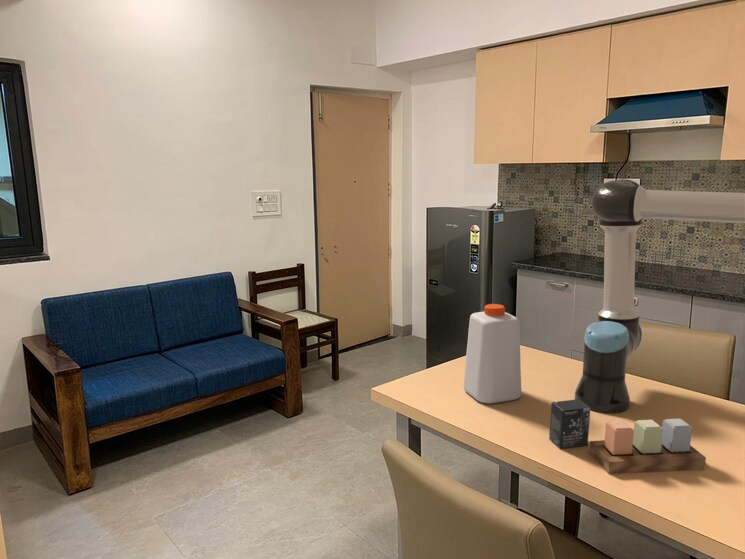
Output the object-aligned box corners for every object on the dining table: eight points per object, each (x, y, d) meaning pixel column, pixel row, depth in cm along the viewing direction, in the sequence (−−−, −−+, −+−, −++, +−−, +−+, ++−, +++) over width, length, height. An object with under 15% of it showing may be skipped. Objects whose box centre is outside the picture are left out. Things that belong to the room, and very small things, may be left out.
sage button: (642, 453, 135) (644, 428, 133) (632, 444, 139) (634, 419, 138) (660, 452, 135) (663, 427, 133) (650, 443, 139) (652, 418, 138)
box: (560, 450, 143) (562, 410, 141) (548, 439, 148) (550, 401, 146) (588, 446, 145) (591, 407, 142) (575, 435, 150) (578, 398, 148)
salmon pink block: (613, 454, 134) (615, 429, 133) (604, 445, 138) (606, 420, 137) (631, 453, 134) (634, 428, 133) (622, 444, 139) (624, 419, 137)
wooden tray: (608, 473, 132) (609, 461, 131) (589, 452, 142) (590, 440, 141) (704, 469, 133) (705, 457, 133) (679, 448, 143) (680, 437, 143)
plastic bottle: (500, 381, 187) (503, 298, 181) (526, 399, 173) (531, 309, 167) (458, 388, 182) (460, 302, 176) (482, 407, 168) (484, 314, 162)
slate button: (671, 452, 135) (673, 426, 134) (660, 442, 139) (663, 418, 138) (689, 451, 135) (692, 426, 134) (678, 442, 140) (681, 417, 138)
